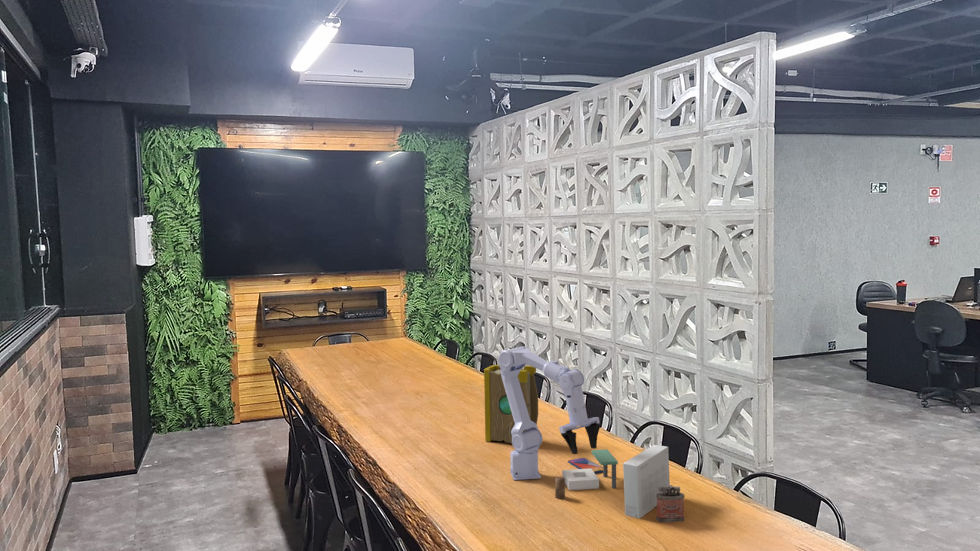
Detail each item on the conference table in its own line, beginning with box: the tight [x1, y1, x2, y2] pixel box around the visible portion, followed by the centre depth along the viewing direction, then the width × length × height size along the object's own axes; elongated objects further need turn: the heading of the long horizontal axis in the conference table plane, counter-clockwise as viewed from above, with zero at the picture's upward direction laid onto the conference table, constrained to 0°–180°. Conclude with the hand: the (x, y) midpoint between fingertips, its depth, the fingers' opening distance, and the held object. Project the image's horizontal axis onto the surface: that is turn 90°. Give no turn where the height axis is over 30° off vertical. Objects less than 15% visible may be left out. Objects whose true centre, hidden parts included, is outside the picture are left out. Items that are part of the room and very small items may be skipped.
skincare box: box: [622, 444, 671, 519], centre depth 209 cm, size 21×5×16 cm, turn 141°
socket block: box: [561, 468, 600, 491], centre depth 227 cm, size 10×10×3 cm
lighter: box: [655, 484, 685, 523], centre depth 199 cm, size 8×3×10 cm, turn 92°
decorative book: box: [483, 364, 539, 444], centre depth 272 cm, size 20×11×30 cm, turn 63°
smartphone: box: [567, 457, 603, 475], centre depth 243 cm, size 7×15×1 cm, turn 25°
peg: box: [554, 476, 566, 500], centre depth 216 cm, size 3×3×6 cm
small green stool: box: [591, 449, 619, 489], centre depth 228 cm, size 6×12×9 cm, turn 6°
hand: (584, 451), depth 217 cm, fingers open, 7 cm apart
